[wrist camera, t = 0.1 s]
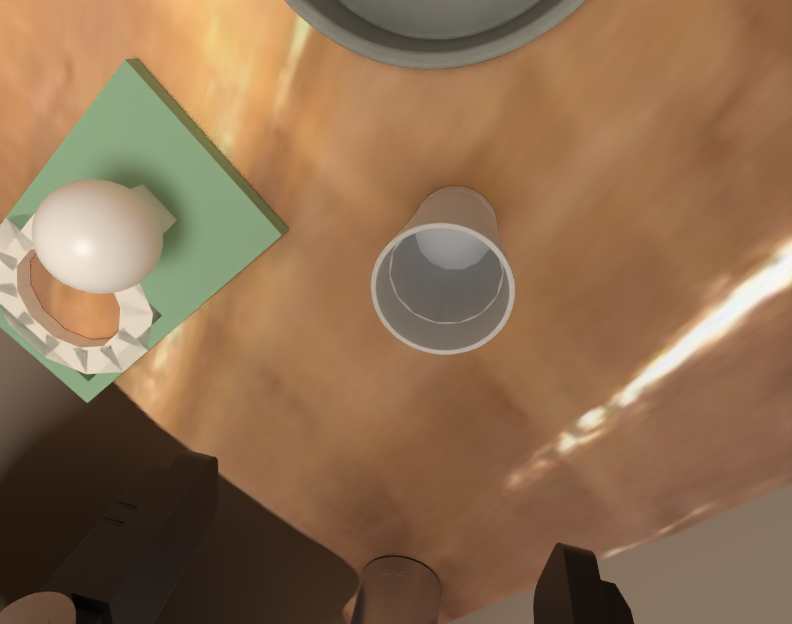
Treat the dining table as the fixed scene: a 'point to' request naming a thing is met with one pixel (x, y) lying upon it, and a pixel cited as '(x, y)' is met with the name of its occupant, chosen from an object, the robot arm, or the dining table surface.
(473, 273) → the cup
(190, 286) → the mini golf board
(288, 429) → the dining table surface
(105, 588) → the robot arm
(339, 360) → the dining table surface
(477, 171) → the dining table surface
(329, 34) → the round baking tin
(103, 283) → the ball
